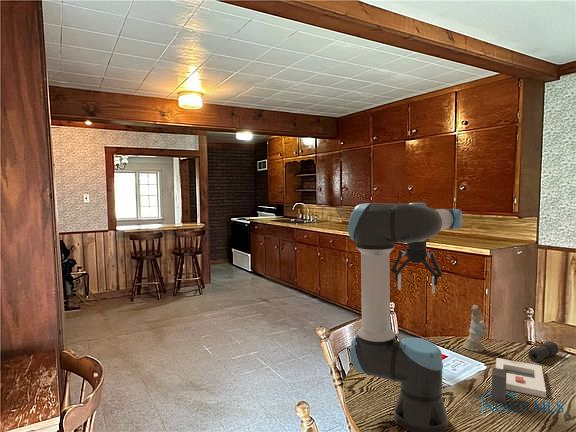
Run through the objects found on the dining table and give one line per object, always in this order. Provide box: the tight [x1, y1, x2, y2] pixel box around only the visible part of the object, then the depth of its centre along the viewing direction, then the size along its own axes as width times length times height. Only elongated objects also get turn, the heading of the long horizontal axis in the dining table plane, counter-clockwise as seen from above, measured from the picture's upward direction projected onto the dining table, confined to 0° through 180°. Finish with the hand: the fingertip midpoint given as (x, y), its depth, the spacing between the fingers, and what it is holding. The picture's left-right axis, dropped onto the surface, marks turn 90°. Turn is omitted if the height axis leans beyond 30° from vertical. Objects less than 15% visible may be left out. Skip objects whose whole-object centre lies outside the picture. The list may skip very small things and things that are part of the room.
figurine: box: [462, 304, 489, 353], centre depth 167 cm, size 9×8×20 cm
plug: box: [491, 367, 507, 404], centre depth 129 cm, size 8×4×8 cm, turn 150°
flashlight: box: [527, 340, 560, 363], centre depth 158 cm, size 15×5×5 cm, turn 123°
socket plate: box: [495, 357, 547, 398], centre depth 141 cm, size 22×15×3 cm
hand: (415, 291), depth 161 cm, fingers open, 13 cm apart
